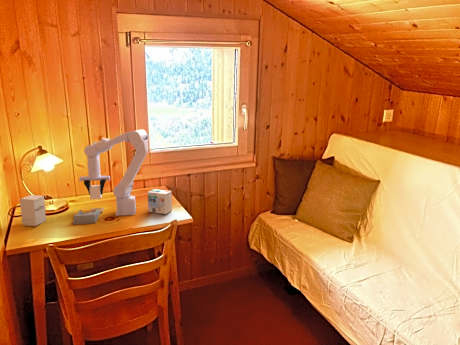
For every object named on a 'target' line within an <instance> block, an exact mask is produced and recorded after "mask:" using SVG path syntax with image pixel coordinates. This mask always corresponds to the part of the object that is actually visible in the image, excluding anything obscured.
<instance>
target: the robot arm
mask: <svg viewBox="0 0 460 345" xmlns="http://www.w3.org/2000/svg"><path fill="white" fill-rule="evenodd" d="M149 140H150V138H149V135H148V133H147V131H146V130H144V129H142V128H140V129H136V130H132V131H128V132H127V131H126V132H124V133H121V134H120V135H116V136H115V137H112V138H111V139H110V138H105V137H103V138H101V139H100V140H99V141H97V142H96V141H95V142H92V143H93V144H88V145H87V146H85V148H84V150H83V151H84V154H85V155H86V160H87V171H88V175H86V176H80V177H79V178H78V179H79V180H78V181H79V182H83V185H84V186H85V187H86V189H87V190H86V191H87V192H88V195H89V196H90V186H91V185H92V184H91V181H99V185H100V188H101V195H102V196H103V193H104V187H105V184H106V183H107V182H106V181H111V176H110V175H101V164H100V163H101V160H100V155H101V154H102V153H105V152H108V151H110V150H112V148H113V146H115V145H117V144H121V143H122V142H126V143H130V144H131V145H132V147H134V151H135V154H133V157H132V159H131V161H130V163H129V165H128V167H127V169H126V171H125V173H124V175H123V177H122V178H121V180H120V181H119V182H118V184H117V185H116V186H114V188H113V190H112V191H113V195H114V196H115V201H116V202H115V204H116V212H115V217H116V216H134V215H136V212H137V207H136V205H137V204H136V196H135V195H132V194H131V192H132V191H133V189H134V188H133V185H134V183H135V182H134V180H135V178H136V177H137V174H138V172H139V171H140V169H141V166H142V165H143V162H144V161H145V159H146V157H147V156H148V153H149Z"/></svg>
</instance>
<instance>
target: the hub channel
mask: <svg viewBox="0 0 460 345" xmlns="http://www.w3.org/2000/svg"><path fill="white" fill-rule="evenodd" d="M100 214H101V213H100V212H99V209H97V210H96V212H90V211H87V212H83V210H82V209H80V210H78V212H77V214H73V222H72V224H73V225H83V224H87V225H88V224H96V223H97V221H98V220H99V217H100Z"/></svg>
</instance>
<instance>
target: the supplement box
mask: <svg viewBox="0 0 460 345" xmlns="http://www.w3.org/2000/svg"><path fill="white" fill-rule="evenodd" d="M19 205H20V213H21V214H20V215H21V216H20V217H21V223H22V224H21V225H23V226H29V227H30V226H31V227H37V226H39V225H40V224H42V223H44V222H47V216H46V214H47V213H46V205H45V196H44V195H35V194H30V195H28V196H24V197H22V198H19Z"/></svg>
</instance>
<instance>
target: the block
mask: <svg viewBox="0 0 460 345" xmlns="http://www.w3.org/2000/svg"><path fill="white" fill-rule="evenodd" d="M102 197H103V194H102V195H101V188H100V184H94V185H93V184H91V186H90V195H89V199H90V200H100V199H102Z"/></svg>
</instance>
